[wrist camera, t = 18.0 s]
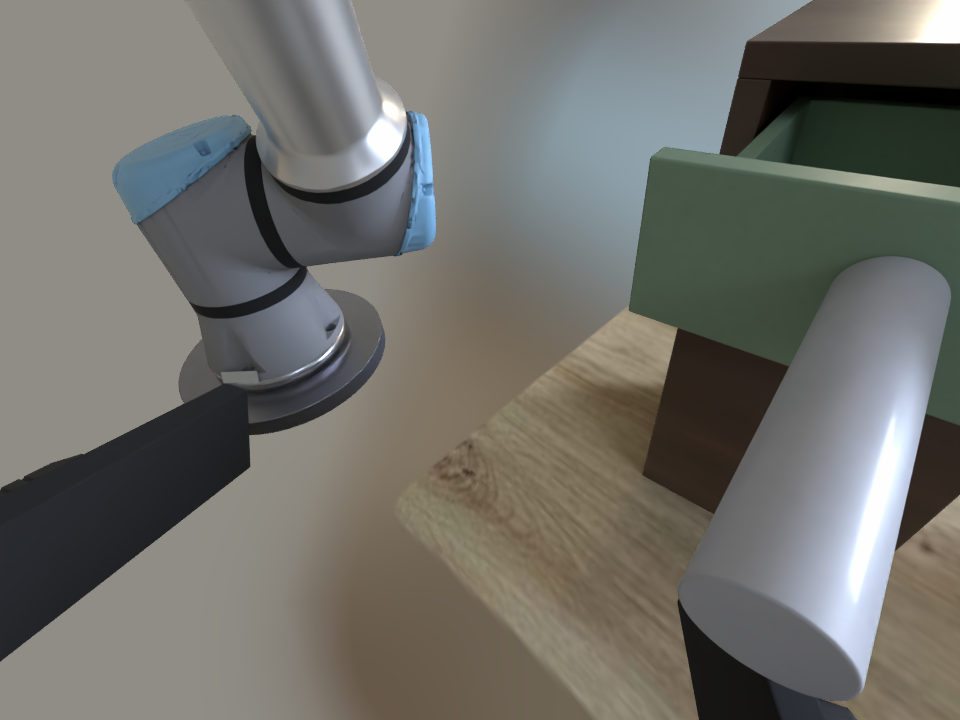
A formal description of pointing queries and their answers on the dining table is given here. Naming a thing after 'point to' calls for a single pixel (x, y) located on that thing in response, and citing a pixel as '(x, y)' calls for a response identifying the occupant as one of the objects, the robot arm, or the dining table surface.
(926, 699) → the dining table surface
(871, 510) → the drawer
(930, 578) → the dining table surface
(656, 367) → the dining table surface
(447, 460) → the dining table surface
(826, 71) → the cabinet
